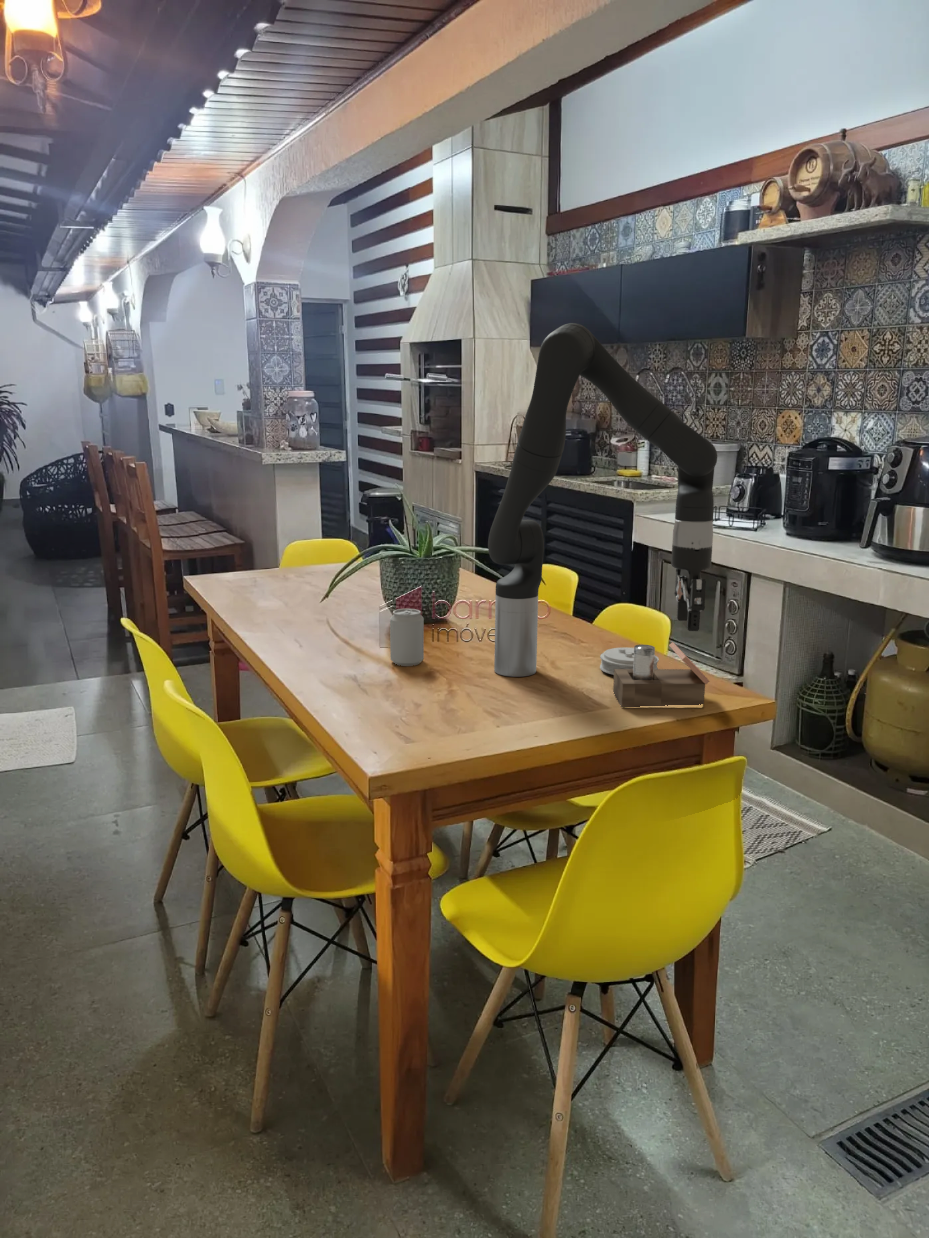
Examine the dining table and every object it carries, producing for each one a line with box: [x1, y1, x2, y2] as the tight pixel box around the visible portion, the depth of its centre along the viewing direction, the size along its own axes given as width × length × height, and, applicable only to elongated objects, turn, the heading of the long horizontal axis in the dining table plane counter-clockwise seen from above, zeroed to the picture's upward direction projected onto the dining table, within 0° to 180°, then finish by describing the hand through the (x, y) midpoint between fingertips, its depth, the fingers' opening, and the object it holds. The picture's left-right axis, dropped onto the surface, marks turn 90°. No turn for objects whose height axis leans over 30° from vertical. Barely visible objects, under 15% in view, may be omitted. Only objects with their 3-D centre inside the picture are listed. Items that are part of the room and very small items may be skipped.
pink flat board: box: [668, 641, 710, 685], centre depth 190 cm, size 11×7×1 cm
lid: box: [599, 647, 660, 676], centre depth 211 cm, size 13×13×5 cm
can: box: [389, 608, 425, 667], centre depth 216 cm, size 8×8×12 cm
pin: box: [633, 644, 656, 680], centre depth 191 cm, size 4×4×11 cm
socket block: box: [612, 668, 706, 708], centre depth 191 cm, size 10×16×5 cm, turn 91°
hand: (687, 625), depth 188 cm, fingers open, 8 cm apart
